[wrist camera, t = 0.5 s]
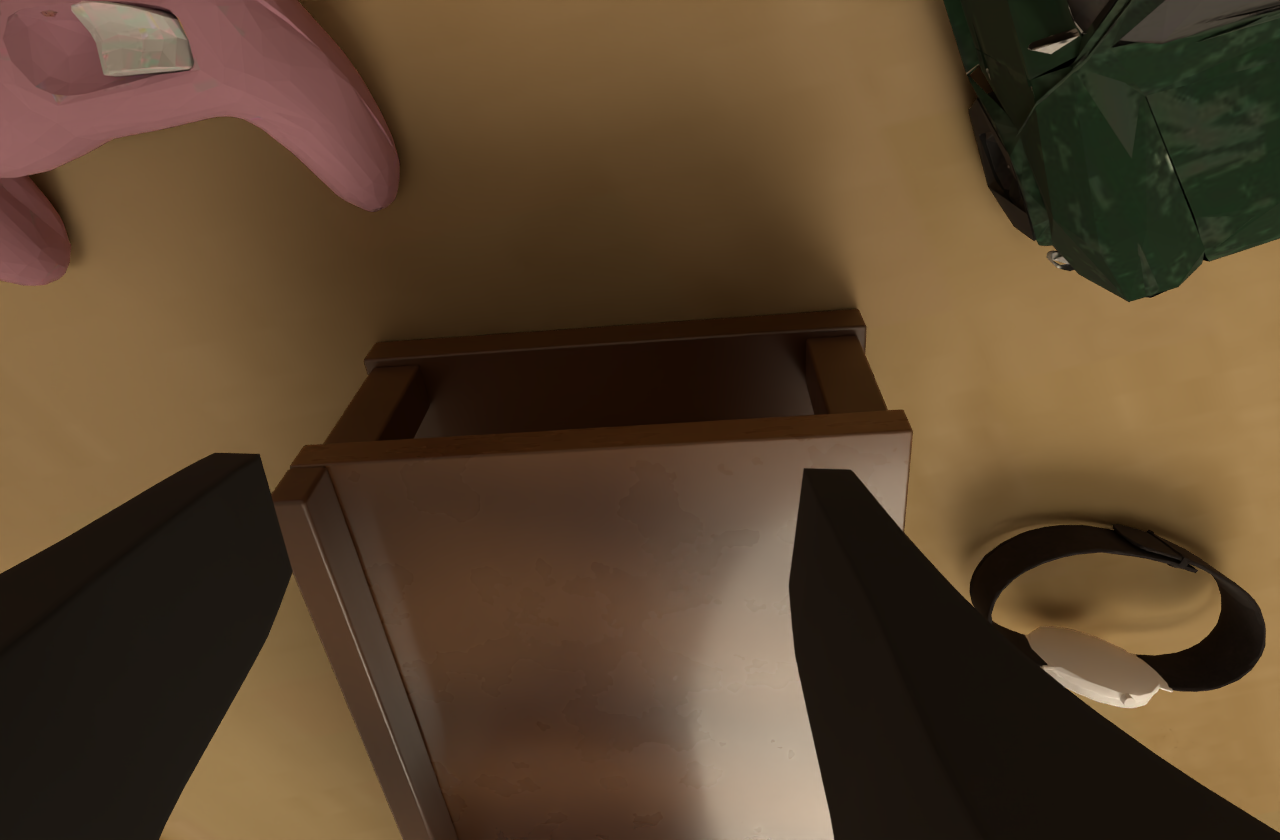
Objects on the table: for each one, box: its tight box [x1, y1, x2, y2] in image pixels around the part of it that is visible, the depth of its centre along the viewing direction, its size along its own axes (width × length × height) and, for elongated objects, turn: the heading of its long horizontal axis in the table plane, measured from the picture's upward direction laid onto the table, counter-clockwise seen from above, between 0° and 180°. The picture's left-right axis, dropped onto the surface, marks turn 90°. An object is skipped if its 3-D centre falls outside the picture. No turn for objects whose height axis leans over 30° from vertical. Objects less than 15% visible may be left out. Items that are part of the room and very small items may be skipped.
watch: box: [970, 524, 1266, 708], centre depth 23 cm, size 8×5×4 cm, turn 79°
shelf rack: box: [271, 309, 913, 840], centre depth 22 cm, size 16×12×7 cm
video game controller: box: [0, 0, 400, 286], centre depth 16 cm, size 10×5×7 cm, turn 103°
